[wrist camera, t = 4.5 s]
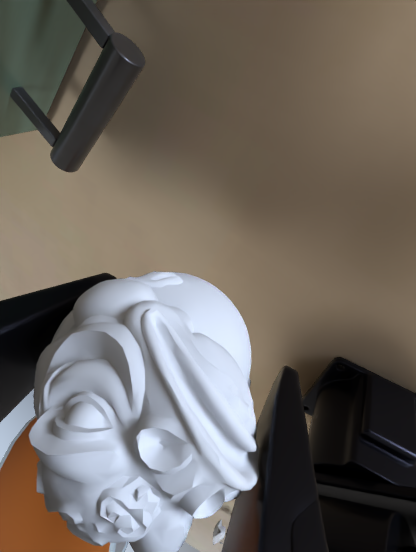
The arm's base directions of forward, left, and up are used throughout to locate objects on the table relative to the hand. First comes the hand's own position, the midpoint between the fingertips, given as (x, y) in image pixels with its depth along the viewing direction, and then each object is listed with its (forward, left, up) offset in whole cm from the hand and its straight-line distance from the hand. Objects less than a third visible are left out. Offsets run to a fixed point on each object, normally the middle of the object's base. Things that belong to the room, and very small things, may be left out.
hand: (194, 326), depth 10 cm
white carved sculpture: (0, 0, -2) cm, 2 cm away
